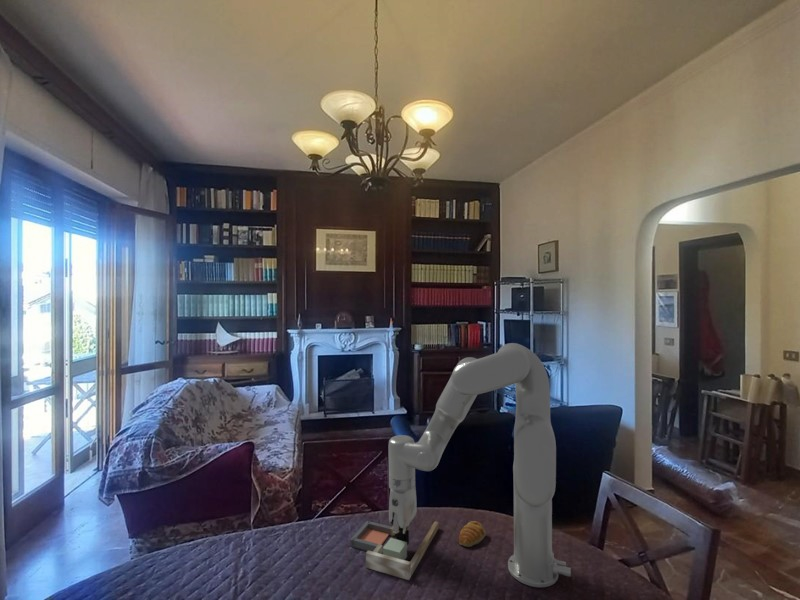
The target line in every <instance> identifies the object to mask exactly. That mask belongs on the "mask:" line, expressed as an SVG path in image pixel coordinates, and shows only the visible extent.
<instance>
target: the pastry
mask: <svg viewBox="0 0 800 600" xmlns="http://www.w3.org/2000/svg"><path fill="white" fill-rule="evenodd" d="M486 536H487V531H486V530H485V528H484V526H483V524H482V523H480V522H479V521H476V520H474V521H472V520H470V521H469V522H467V524H465V525H464V526H463V527H462V528H461V530H460V532H459V537H458V542H459V545H460V546H463V547H466V548H471V547H473V546H476V545H478V544H480V543H481V542H482V541H483V540H484V538H485V537H486Z"/></svg>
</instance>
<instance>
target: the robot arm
mask: <svg viewBox="0 0 800 600" xmlns="http://www.w3.org/2000/svg"><path fill="white" fill-rule="evenodd" d="M511 385H515V421H514V427H513V453H514V454H513V464H512V474H513V477H512V478H513V554H512V555H510V557H509V558H508V561H507V569H508V572H509V573H510V575H511V576H512V577H513V578H514V579H515V580H517V581H518V582H519V583H522V584H524V585H526V586H529V587H532V588H547V587H550V586H553V585H554V584H556V583H557V581H558V580H559V575H563V576H566V577H571V576H572V570H571V569H572V568H571V567H568V566H567V562H566V561H564V560H558V559H557V558H555V554H554V553H555V552H553V516H552V515H553V500H552V499H553V497H554V496H555V492H556V484H557V481H556V480H557V479H556V478H557V445H556V443H557V442H556V437H555V432H554V429H553V426H552V421H551V390H550V381H549V376H548V373H547V370H546V368H545V365H544V364H543V362H542V360H541V359H540V358H539V356H538V355H537V354H536V353H535V352H533V350H531V349H529V348H527V347H526V346H524V345H522V344H519V343H516V342H511V343H505V344H504V345H502V346H501V347H500V348H499V349H498V350H497V352H495V353H492V354H489V355H486V356H484V357H479V358H476V357H471V356H470V357H469V356H468V357H464V358H462V359H461V360H459V361H458V362H457V364H456V366H455V367H454V368H453V371H452V373H451V375H450V378H449V380H448V382H447V383H446V385H445V387H444V388H443V391H442V392H441V394H440V396H439V397H438V399H437V402H436V404H435V410H434V413H433V415H432V417H431V419H430V421H429V422H428V425H427V426H426V429H425V430H424V432H423V434H422V435H421V437H420V438H419V439H418V441H416V442H415V439H414V438H413V437H411V435H404V434H400V435H399V434H398V435H394V436H392V437H391V438H390V439H389V440H388V449H387V450H388V487H389V498H388V499H389V502H388V523H389V526H391V527H392V526H393V533H396V534H395V536H396V537H395V539H397V540H401V541H405V542H407V546H408V545H409V543H410V538H409V537H410V531H409V529H410V523H411V522H412V521H413V519H414V518H415V517H416V515H417V512H418V507H417V490H416V489H417V488H416V470H419V471H422V472H423V471H424V472H431V471H433V470H434V469H436V468H437V466H438V465H439V463H440V460H441V458H442V455H443V453H444V451H445V449H446V447H447V445H448V443H449V441H450V439H452V436H453V434H454V433H455V430H456V429H457V427H458V426H459V425H460V423H462V422H463V421H464V420H465V418H466V416H467V414H468V413H469V411H470V409H471V407H472V405H473V403H474V401H475V400H476V398H477V396H478V395H482V394H484V393H489V392H492V391H496V390H498V389H502V388H506V387H509V386H511Z"/></svg>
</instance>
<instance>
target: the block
mask: <svg viewBox="0 0 800 600" xmlns="http://www.w3.org/2000/svg"><path fill="white" fill-rule="evenodd" d="M382 554H383V555H387V556H391V557H394V558H398V559H402V560H405V561H406V559H407V557H408V545H407V542H405V541H401V540H397V539H396V538H393V537H390V538H389V540H388V541H387V542H386V543H385V544H384V546H382Z"/></svg>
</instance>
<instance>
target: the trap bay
mask: <svg viewBox="0 0 800 600" xmlns="http://www.w3.org/2000/svg"><path fill="white" fill-rule="evenodd" d="M391 527H392V526H391V525H387V524H381V523H378V522H373V521H369V520H366V521H365V522H364V523H363V524H362V525H361V527H360V528H359V529H358V530H357V531H356V532H355V533H354V535H352V537H351V538H350V539H349V547H352V548H354V549H358V550H359V549H360V550H362V551H366V552H367V551H368V550H369V551H372V552H373V551H374V549H375V548H376V547H377V545H378V544H380V545H382V546H383V544H384V543H385V541H386V540H387V538H389V536H391V535H390V529H391Z"/></svg>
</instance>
